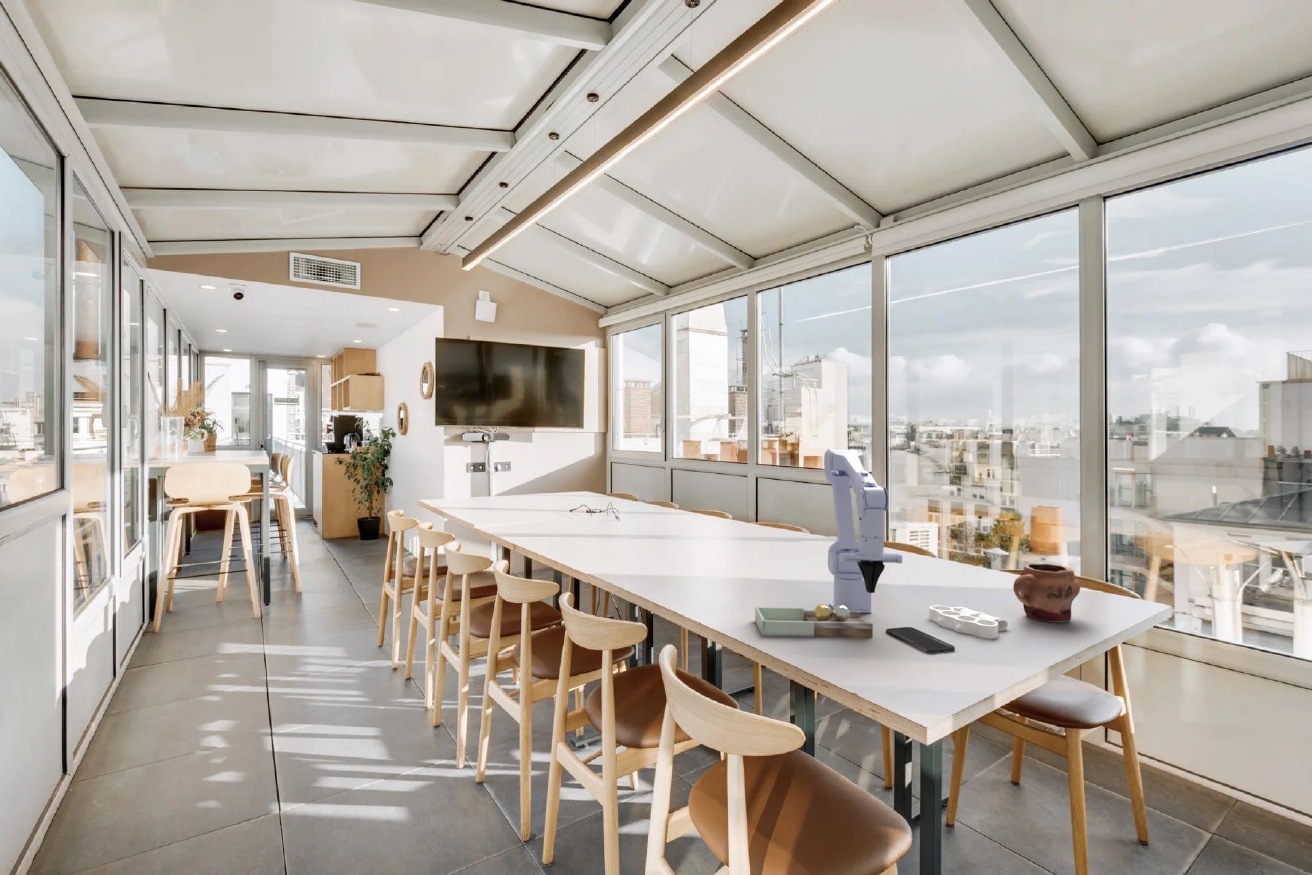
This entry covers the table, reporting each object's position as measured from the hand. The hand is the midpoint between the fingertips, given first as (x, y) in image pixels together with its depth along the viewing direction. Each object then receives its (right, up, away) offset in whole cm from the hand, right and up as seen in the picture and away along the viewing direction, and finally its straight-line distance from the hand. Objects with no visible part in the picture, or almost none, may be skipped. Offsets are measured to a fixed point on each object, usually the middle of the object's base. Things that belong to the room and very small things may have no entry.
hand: (870, 591), depth 147 cm
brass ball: (-12, -5, 0) cm, 13 cm away
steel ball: (-7, -5, 0) cm, 9 cm away
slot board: (-8, -9, 0) cm, 12 cm away
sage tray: (-21, -9, 0) cm, 23 cm away
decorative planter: (+50, -10, +11) cm, 52 cm away
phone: (+9, -10, -7) cm, 15 cm away
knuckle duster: (+26, -10, +5) cm, 28 cm away
